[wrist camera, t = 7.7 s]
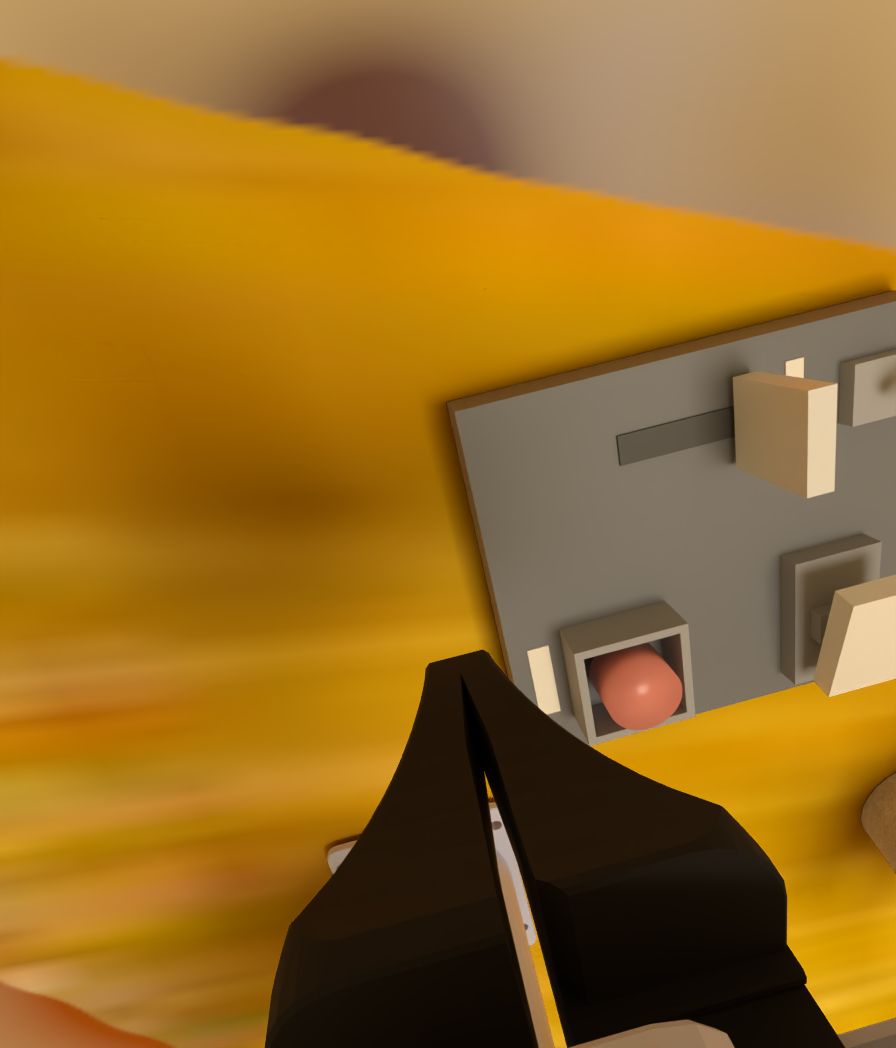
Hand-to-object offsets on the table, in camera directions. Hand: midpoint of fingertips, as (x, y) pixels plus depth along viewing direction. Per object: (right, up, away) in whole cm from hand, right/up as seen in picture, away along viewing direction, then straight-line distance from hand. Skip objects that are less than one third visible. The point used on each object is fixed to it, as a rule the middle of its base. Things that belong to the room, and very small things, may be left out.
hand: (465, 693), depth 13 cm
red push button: (+6, -2, +8) cm, 10 cm away
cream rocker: (+14, 0, +7) cm, 16 cm away
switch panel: (+9, +4, +9) cm, 13 cm away
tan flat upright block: (+9, +7, +6) cm, 13 cm away
